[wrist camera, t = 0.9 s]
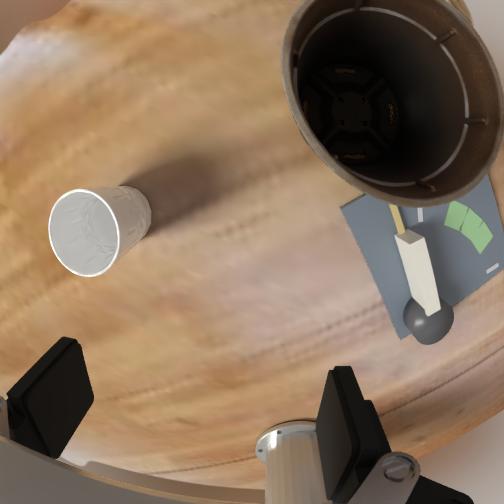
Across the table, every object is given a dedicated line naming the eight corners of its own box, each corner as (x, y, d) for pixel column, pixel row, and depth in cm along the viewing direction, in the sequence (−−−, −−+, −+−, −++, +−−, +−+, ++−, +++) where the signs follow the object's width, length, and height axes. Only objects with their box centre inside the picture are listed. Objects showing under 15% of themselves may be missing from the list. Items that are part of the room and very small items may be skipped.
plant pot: (292, 200, 33) (319, 233, 18) (256, 58, 29) (250, -17, 14) (426, 173, 32) (520, 187, 16) (392, 42, 28) (463, -16, 12)
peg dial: (443, 318, 35) (458, 333, 31) (407, 337, 36) (420, 354, 32) (411, 193, 31) (429, 197, 27) (369, 212, 32) (383, 220, 28)
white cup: (113, 168, 33) (65, 173, 23) (169, 202, 34) (134, 217, 24) (87, 226, 35) (39, 248, 25) (139, 260, 36) (101, 293, 26)
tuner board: (505, 261, 34) (510, 263, 33) (397, 336, 37) (400, 340, 36) (468, 134, 30) (473, 134, 29) (339, 207, 33) (341, 208, 32)
